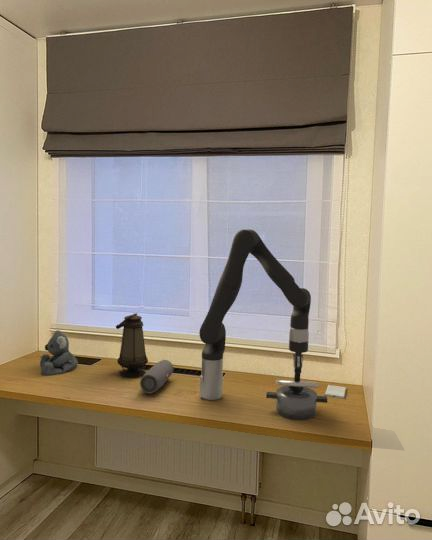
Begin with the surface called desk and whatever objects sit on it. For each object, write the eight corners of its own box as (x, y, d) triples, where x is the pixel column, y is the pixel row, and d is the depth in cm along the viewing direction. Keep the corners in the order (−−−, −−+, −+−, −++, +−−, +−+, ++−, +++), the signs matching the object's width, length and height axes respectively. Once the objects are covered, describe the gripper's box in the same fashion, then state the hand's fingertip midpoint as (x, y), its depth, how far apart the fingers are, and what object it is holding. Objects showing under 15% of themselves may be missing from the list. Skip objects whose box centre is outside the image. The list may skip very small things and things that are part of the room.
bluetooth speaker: (159, 397, 191) (159, 374, 190) (138, 395, 193) (138, 372, 192) (174, 379, 213) (174, 359, 212) (156, 378, 215) (156, 357, 214)
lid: (275, 386, 171) (275, 376, 172) (275, 384, 189) (276, 375, 189) (320, 389, 169) (320, 380, 169) (316, 387, 186) (316, 378, 187)
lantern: (139, 381, 209) (140, 318, 207) (110, 378, 213) (110, 316, 210) (154, 369, 227) (154, 311, 224) (126, 366, 231) (127, 309, 228)
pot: (265, 417, 173) (265, 397, 172) (266, 401, 188) (267, 383, 188) (328, 422, 169) (329, 402, 168) (324, 406, 185) (325, 387, 184)
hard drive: (328, 384, 208) (324, 393, 196) (346, 387, 205) (344, 396, 194) (328, 388, 208) (324, 397, 197) (346, 390, 205) (343, 400, 194)
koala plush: (39, 366, 228) (38, 329, 226) (75, 363, 235) (75, 326, 234) (41, 377, 212) (41, 337, 210) (80, 372, 220) (80, 334, 218)
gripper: (288, 334, 182) (287, 375, 184) (289, 342, 169) (287, 386, 171) (307, 335, 181) (305, 376, 183) (309, 343, 168) (307, 387, 170)
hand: (297, 381), depth 177 cm, fingers closed
